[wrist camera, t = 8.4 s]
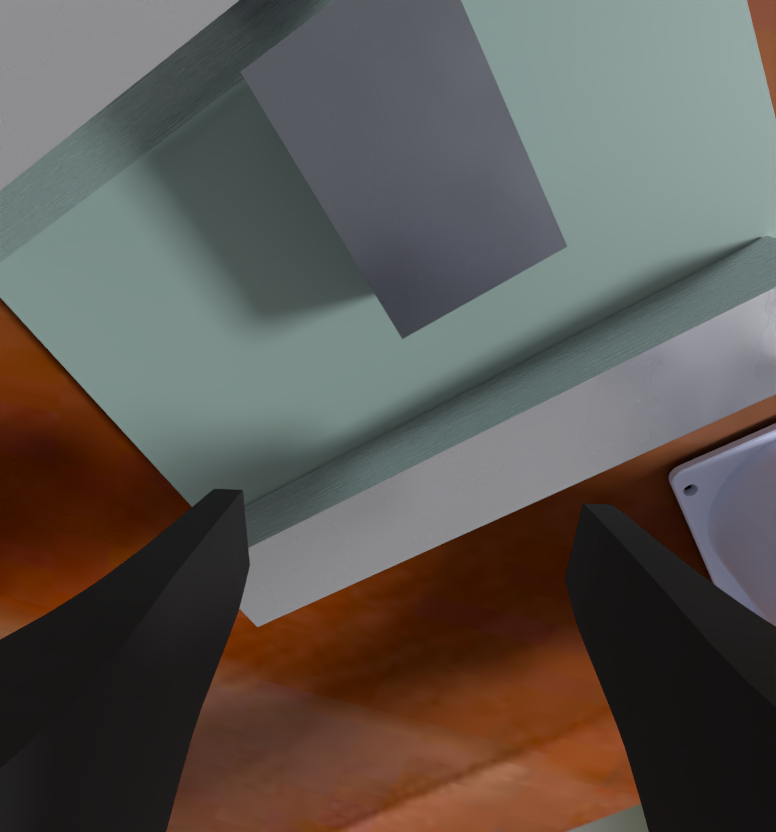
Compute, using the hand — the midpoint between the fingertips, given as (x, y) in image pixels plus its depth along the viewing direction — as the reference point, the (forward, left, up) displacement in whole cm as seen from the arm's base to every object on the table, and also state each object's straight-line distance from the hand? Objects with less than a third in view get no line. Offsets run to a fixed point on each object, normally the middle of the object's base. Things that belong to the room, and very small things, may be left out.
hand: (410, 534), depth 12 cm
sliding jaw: (-3, -2, -8) cm, 8 cm away
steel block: (+6, -4, -8) cm, 10 cm away
